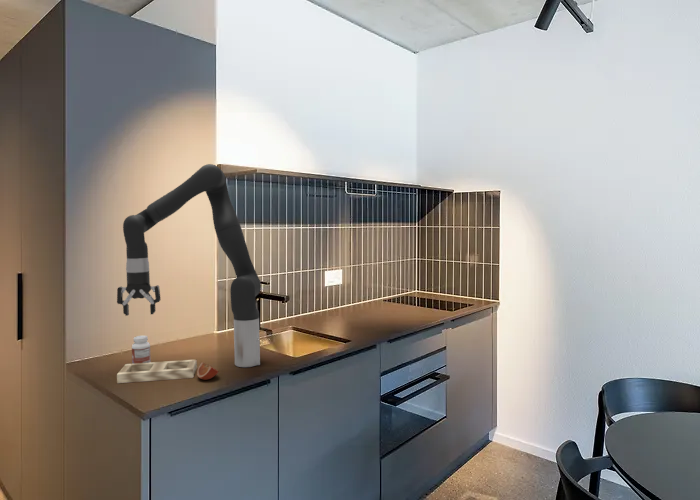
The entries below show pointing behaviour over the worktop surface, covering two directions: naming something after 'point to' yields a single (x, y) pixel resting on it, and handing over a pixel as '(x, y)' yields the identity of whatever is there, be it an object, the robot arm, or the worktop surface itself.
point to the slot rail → (157, 371)
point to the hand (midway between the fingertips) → (139, 314)
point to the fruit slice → (206, 371)
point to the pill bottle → (141, 350)
